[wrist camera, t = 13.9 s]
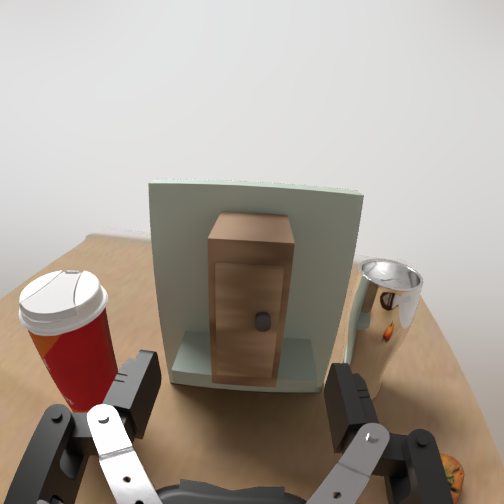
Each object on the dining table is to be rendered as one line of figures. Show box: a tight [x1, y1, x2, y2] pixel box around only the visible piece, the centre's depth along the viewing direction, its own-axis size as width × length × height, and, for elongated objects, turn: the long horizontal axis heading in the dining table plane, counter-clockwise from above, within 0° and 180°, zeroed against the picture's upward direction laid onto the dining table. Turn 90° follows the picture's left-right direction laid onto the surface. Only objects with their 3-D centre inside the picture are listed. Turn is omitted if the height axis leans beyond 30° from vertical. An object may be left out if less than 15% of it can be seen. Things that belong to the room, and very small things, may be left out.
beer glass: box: [340, 259, 423, 400], centre depth 29 cm, size 7×7×15 cm
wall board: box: [149, 179, 364, 393], centre depth 26 cm, size 17×10×22 cm, turn 88°
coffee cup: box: [19, 270, 118, 413], centre depth 23 cm, size 8×8×15 cm
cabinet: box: [208, 211, 295, 387], centre depth 22 cm, size 5×7×12 cm
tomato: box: [440, 454, 464, 504], centre depth 16 cm, size 8×7×7 cm
